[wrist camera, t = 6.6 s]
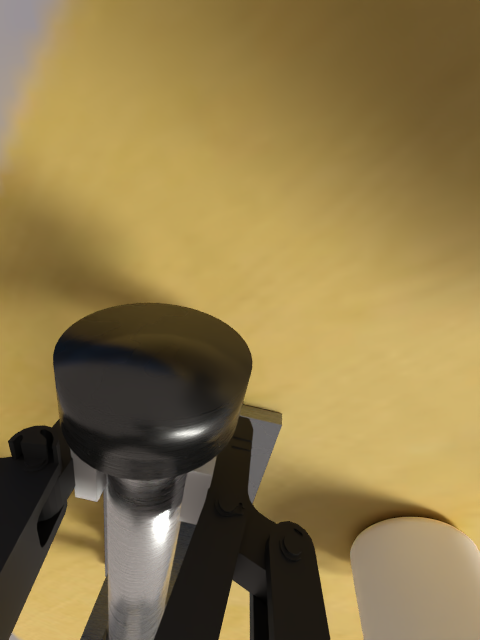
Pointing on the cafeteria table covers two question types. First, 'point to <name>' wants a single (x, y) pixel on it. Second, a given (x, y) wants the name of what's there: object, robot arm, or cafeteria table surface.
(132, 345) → the shaft
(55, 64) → the cafeteria table surface
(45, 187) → the cafeteria table surface
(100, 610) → the bearing block
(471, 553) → the mug
